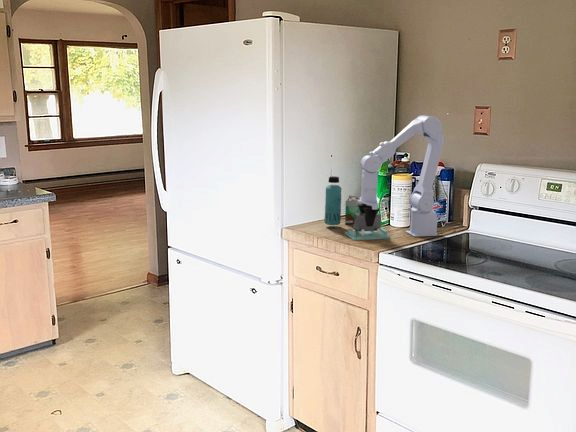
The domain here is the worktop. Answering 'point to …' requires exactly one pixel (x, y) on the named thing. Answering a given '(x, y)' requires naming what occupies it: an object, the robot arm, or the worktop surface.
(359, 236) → the tray
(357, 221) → the dark grey block
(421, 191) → the robot arm
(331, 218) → the beverage bottle
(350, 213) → the food container
